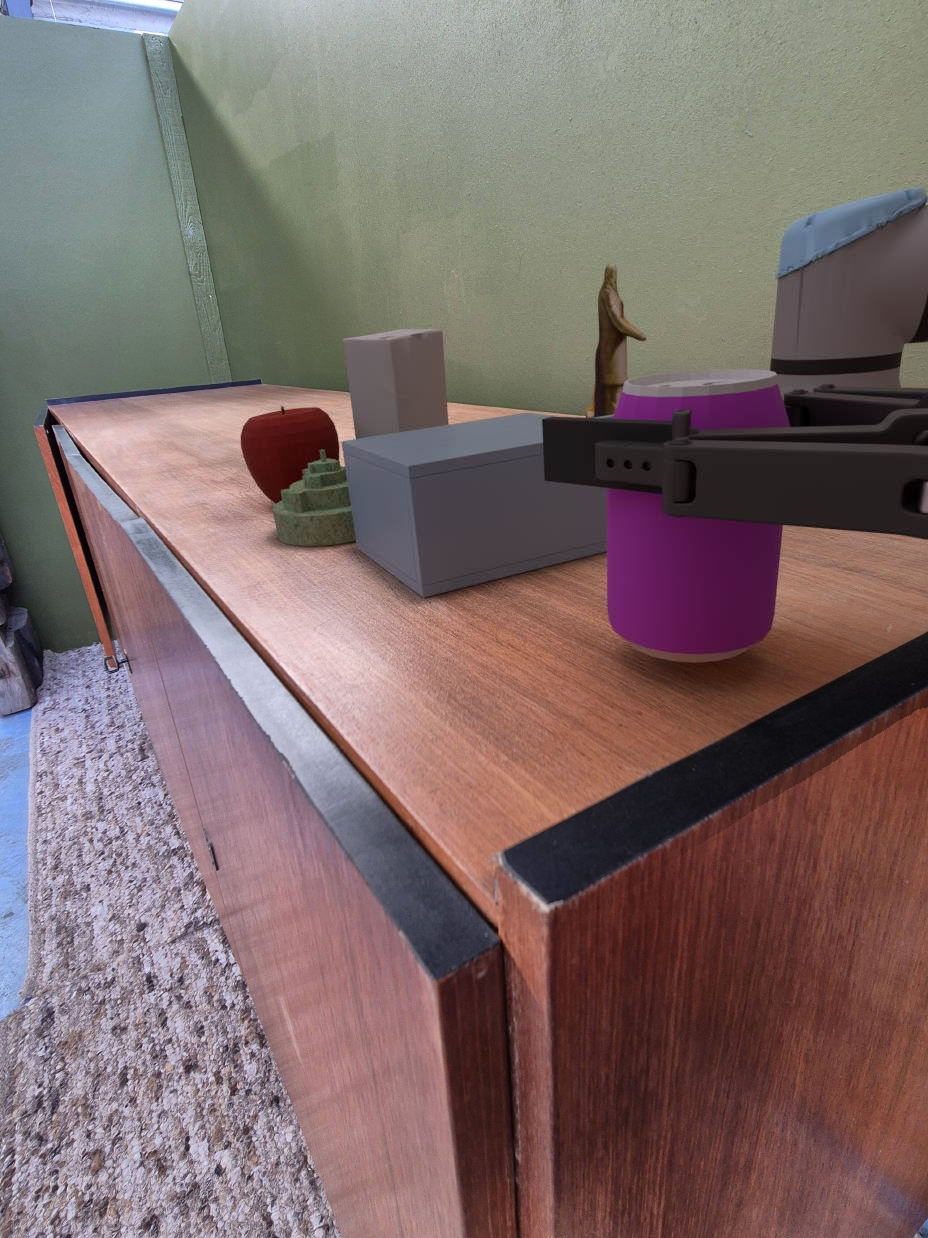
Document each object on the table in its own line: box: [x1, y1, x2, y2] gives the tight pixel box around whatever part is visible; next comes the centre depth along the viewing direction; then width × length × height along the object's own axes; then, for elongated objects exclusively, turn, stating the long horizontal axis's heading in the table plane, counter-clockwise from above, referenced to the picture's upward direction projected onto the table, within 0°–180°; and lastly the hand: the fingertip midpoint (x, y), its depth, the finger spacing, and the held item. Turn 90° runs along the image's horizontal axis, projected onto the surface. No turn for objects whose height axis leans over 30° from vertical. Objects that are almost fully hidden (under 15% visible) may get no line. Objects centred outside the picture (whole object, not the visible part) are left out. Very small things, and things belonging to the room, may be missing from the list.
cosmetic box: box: [342, 328, 450, 439], centre depth 72 cm, size 8×7×16 cm
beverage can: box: [606, 368, 791, 664], centre depth 33 cm, size 8×8×12 cm
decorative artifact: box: [272, 450, 356, 547], centre depth 62 cm, size 10×7×10 cm
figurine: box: [585, 262, 647, 418], centre depth 72 cm, size 5×8×20 cm, turn 73°
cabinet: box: [340, 412, 607, 599], centre depth 53 cm, size 17×14×9 cm
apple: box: [240, 405, 340, 505], centre depth 72 cm, size 10×10×10 cm
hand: (602, 432), depth 34 cm, fingers closed on beverage can, 8 cm apart
